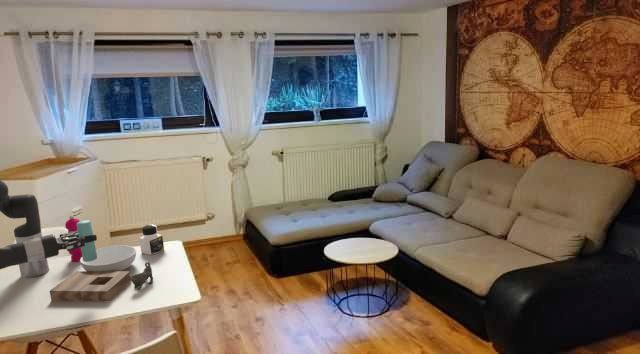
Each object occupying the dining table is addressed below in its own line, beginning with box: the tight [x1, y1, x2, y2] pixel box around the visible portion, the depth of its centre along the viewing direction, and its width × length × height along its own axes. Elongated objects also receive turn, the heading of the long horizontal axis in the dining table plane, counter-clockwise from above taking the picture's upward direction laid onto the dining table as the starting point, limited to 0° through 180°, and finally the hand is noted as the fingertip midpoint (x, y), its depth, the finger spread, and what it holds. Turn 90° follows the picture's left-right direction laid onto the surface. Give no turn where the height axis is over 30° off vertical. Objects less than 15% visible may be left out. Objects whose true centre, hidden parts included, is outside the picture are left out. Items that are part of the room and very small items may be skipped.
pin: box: [77, 219, 97, 262], centre depth 169 cm, size 5×5×14 cm
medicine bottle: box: [138, 224, 165, 256], centre depth 210 cm, size 7×7×12 cm
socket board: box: [49, 270, 132, 303], centre depth 176 cm, size 22×16×4 cm
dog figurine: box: [130, 261, 154, 291], centre depth 177 cm, size 12×6×7 cm, turn 168°
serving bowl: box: [79, 244, 137, 271], centre depth 193 cm, size 21×21×7 cm
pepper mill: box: [64, 214, 82, 263], centre depth 205 cm, size 7×7×20 cm
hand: (94, 235), depth 171 cm, fingers closed on pin, 4 cm apart
